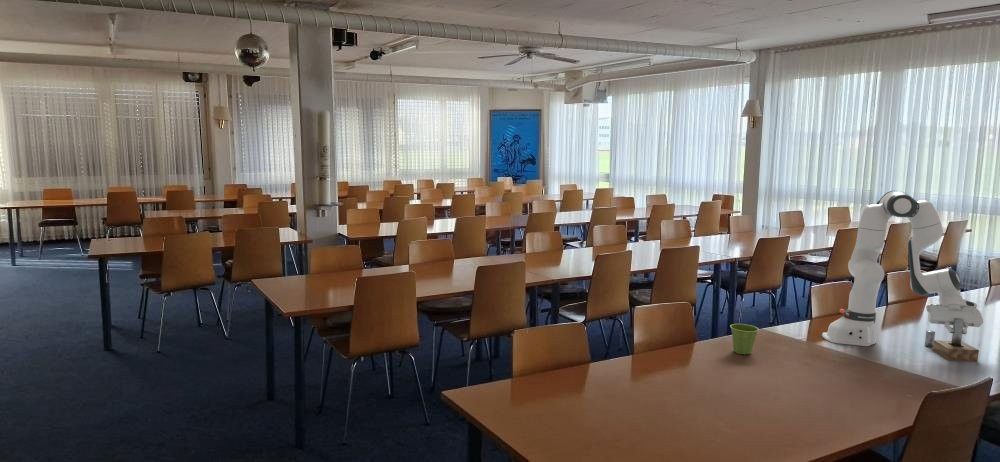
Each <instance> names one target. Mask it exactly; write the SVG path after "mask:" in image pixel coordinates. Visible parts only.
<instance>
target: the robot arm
mask: <svg viewBox="0 0 1000 462" xmlns="http://www.w3.org/2000/svg"><path fill="white" fill-rule="evenodd" d="M893 216H894V217H896V218H907V219H908V221H909V223H910V225H911V230H912V236H911V238H910V239H908V243H907V250H908V251H907V252H908V254H907V255H908V262H909V272H910V284H909V285H910V288H911V290H912V293H914V294H916V295H918V296H921V297H922V296H923V297H924V296H929V295H930V294H931V295H932V294H937V295H938V301H939V302H938V303H939V304H937V303H936V304H933V303H929V304H927V305H926V307H925V308H926V312H927V321H928V322H929V323H930V324H935V325H944V327H945V329H947V330H948V333H949V334H953V333H954V328H953V327H951V326H953V325H954V318H962V319H964V325H963V333H962V335H967V334H968V328H969V327H970V328H974V327H975V328H981V326H982V325H983V324H984V319H983V316H982V313H981V311H980V310H979V309H978V308H977V307H978V304H977V303H976V302H973V301H970V300H967V299H964V298H963V297H962V294H961V288H962V287H963V286H962V283H961V277H960V275H959V273H958V272H957V271H956V270H954V269H951V268H943V269H938V270H932V271H927V272H922V271H921V263H920V255H921V253H922V252H923V251H924V250H926V249H927V248H929V247H931V246H934V245H935V244H936V243H938V242H939V241H940V239H941V238H942V236H943V234H944V231H943V230H944V229H943V225H942V222H941V219H940V216H939V214H938V212H937V210H936V207H935V206H934V204H933V203H932V202H931V201H929V200H925V199H924V200H922V199H920V200H918V201H917V200H916V199H914V197H912V196H911V195H909V194H908V193H906V192H903V191H899V190H890V191H887V192H885V193H884V194H883V195H882V196H881V198H880V199H879V200H878V201H877V202H876V203H873V204H868V205H866V206H865V207H864V208H863V210H862V213H861V215H860V218H859V222H858V229H857V234H856V240H855V244H854V248H853V251H852V254H851V258H850V259H849V260H848V264H847V267H848V271H849V273H850V275H851V277H854V278H853V279H854V280H853V281H854V282H853V285H852V288H851V290H850V292H849V296H848V297H849V298H848V308H847V309H844V308H840V309H839V312H840V313H841V314H842V315H843V316H841V317H840V318H838V319H836V320H834V321H833V322H831V323H829V326H828V328H827V332H825V331H824V332H822V334H821V337H822V338H823V339H825V340H826V341H828V342H830V343H833V344H839V345H840V344H841V345H842V344H843V345H851V346H852V345H853V346H862V347H870V346H871V345H875V344H876V343H877V341H876V335H875V323H876V320H877V312H876V307H877V306H876V305H877V299H878V293H879V290H880V287H881V284H882V281H883V280H884V279H885V270H884V268H883V266H882V264H880V263H879V262H878V259H879V255H880V253H881V252H882V250H883V248H884V244H885V238H886V233H887V232H886V231H887V227H888V226H887V224H888V223H889V220H890V218H892V217H893Z"/></svg>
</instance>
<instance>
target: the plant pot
mask: <svg viewBox="0 0 1000 462" xmlns="http://www.w3.org/2000/svg"><path fill="white" fill-rule="evenodd" d="M729 327H730V331H731V335H732V347H733V349H732V350H733V352H734V353H736V354H739V355H742V354H744V355H751V354H752V351H753V347H754V343H755V340H756V336H758V335H757V334H758V332H759V331H760V328H758V327H757V326H755V325H750V324H747V323H746V324H745V323H734V324H733V323H732V324H730V325H729Z"/></svg>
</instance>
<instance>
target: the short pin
mask: <svg viewBox="0 0 1000 462" xmlns="http://www.w3.org/2000/svg"><path fill="white" fill-rule="evenodd" d="M924 337H925V338H924V346H925V347H926V348H933V343H934V340H936V331H934V330H930V329H929V330H927V329H926V331H925V336H924Z"/></svg>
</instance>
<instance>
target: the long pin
mask: <svg viewBox="0 0 1000 462" xmlns="http://www.w3.org/2000/svg"><path fill="white" fill-rule="evenodd" d="M963 325H964V319H962V318H954V325H952V326H953V327H952V328H954V333H951V336H952V337H951V341H952V342H951V346H953V347H961V342H963V334H962V333H963V329H964V328H963Z"/></svg>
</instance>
